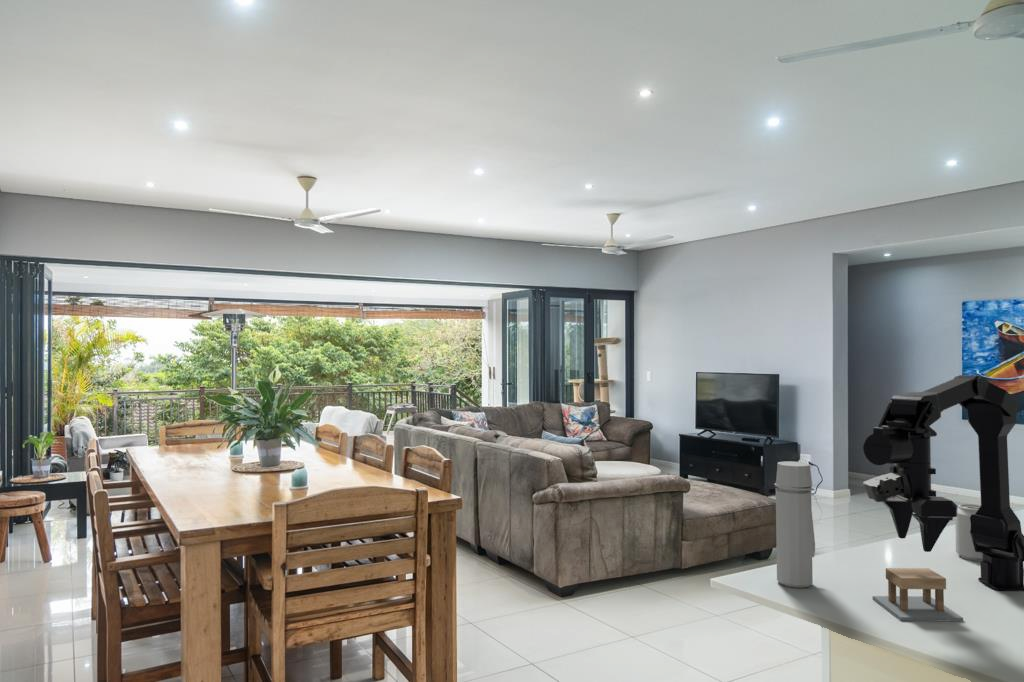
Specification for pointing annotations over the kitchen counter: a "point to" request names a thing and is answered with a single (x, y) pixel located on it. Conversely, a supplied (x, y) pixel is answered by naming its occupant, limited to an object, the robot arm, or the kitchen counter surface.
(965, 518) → the can
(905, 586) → the stool
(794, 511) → the water bottle
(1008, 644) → the kitchen counter surface
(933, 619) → the gray panel
